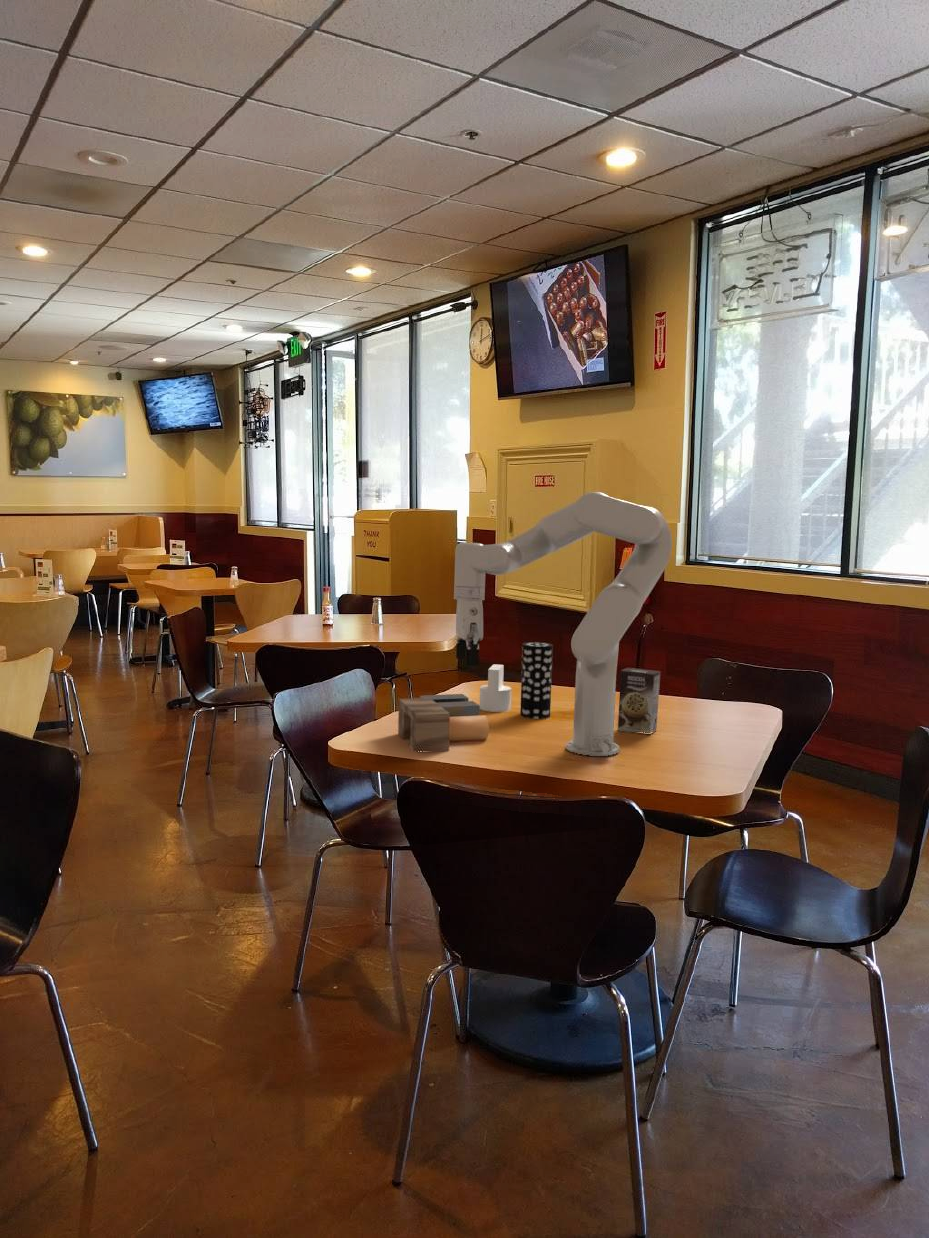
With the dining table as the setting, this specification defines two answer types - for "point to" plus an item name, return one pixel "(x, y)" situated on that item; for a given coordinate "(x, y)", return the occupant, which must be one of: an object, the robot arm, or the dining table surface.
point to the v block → (456, 704)
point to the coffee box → (638, 700)
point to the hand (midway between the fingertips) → (466, 661)
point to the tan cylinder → (468, 728)
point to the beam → (424, 724)
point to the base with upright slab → (495, 691)
